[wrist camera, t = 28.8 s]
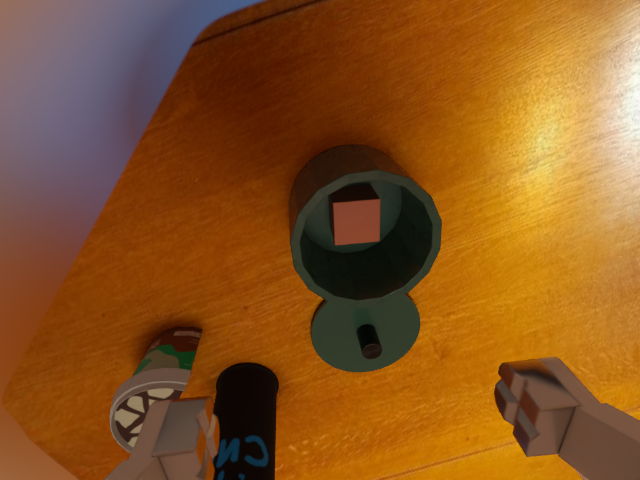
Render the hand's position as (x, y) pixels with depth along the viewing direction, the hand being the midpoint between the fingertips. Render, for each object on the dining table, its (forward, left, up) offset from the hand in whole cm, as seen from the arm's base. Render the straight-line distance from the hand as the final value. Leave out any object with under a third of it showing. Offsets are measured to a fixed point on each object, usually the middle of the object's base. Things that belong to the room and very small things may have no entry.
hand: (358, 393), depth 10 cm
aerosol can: (+1, -32, -29) cm, 43 cm away
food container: (-10, -28, -29) cm, 42 cm away
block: (+6, -4, -29) cm, 29 cm away
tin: (+6, -4, -29) cm, 30 cm away
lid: (+13, -19, -28) cm, 37 cm away
